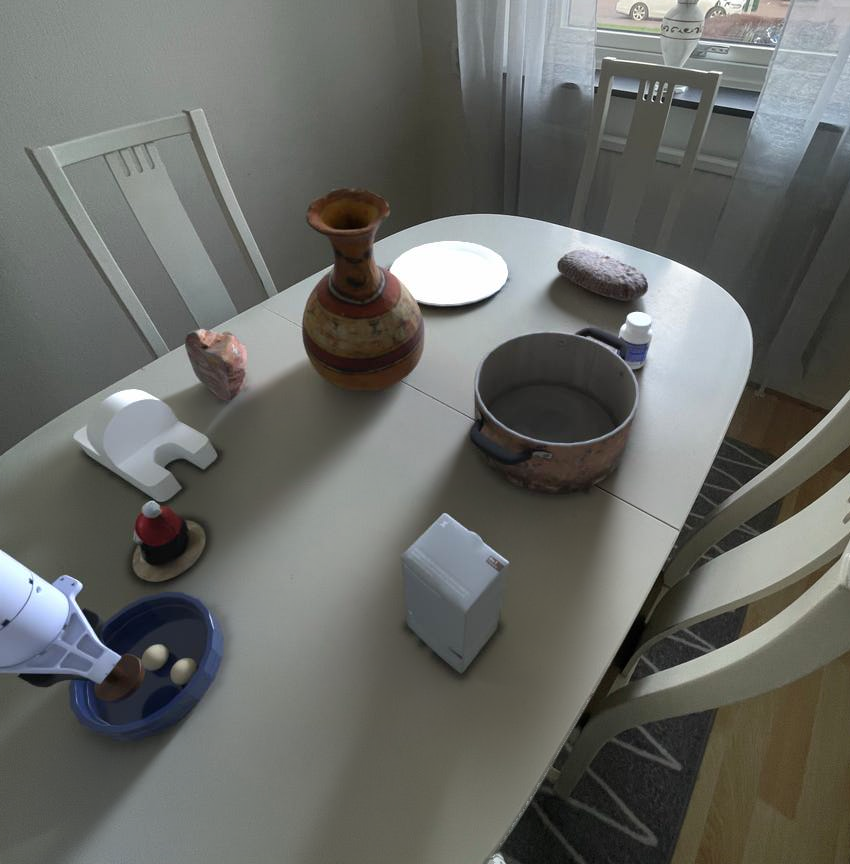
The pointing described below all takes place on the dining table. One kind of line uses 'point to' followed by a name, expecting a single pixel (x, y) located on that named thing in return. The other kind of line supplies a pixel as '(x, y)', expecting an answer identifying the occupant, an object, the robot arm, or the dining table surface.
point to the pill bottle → (636, 338)
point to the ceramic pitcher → (359, 300)
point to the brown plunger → (121, 680)
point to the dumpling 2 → (183, 671)
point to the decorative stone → (603, 275)
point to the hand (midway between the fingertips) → (91, 663)
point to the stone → (218, 361)
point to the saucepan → (554, 409)
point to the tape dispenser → (142, 441)
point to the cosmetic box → (453, 590)
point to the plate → (450, 273)
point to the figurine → (165, 543)
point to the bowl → (157, 695)
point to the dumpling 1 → (155, 657)
